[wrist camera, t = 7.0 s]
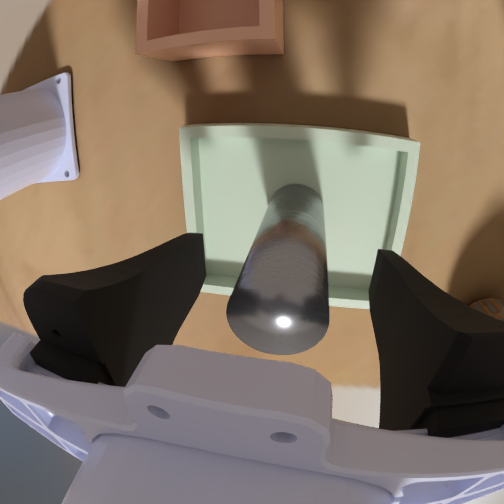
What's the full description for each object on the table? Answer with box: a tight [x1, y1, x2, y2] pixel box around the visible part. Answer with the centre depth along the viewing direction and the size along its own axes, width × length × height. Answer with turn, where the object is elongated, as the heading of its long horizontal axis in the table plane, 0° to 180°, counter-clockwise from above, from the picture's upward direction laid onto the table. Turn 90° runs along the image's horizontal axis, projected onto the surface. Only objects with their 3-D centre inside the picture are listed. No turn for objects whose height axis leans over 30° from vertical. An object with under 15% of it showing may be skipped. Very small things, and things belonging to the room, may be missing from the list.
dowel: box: [226, 184, 329, 355], centre depth 12 cm, size 3×3×9 cm
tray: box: [179, 123, 420, 309], centre depth 16 cm, size 12×10×2 cm
